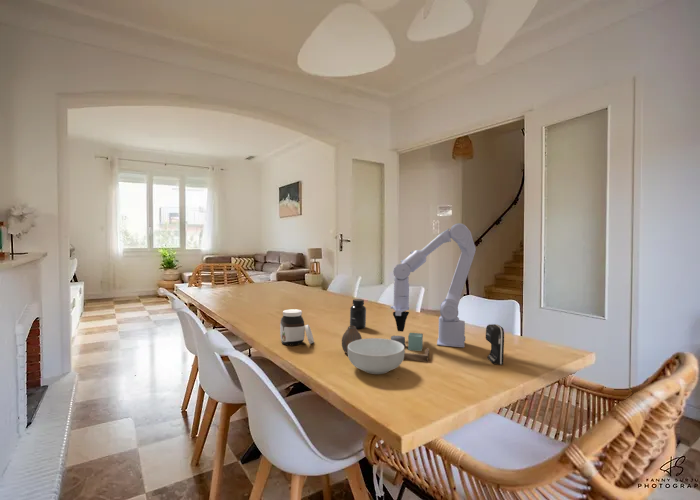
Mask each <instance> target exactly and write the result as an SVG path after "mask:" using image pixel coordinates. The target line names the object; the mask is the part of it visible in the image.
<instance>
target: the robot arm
mask: <svg viewBox="0 0 700 500" xmlns="http://www.w3.org/2000/svg"><path fill="white" fill-rule="evenodd" d="M452 240H453V241H454V242H455V243H456V244H457V246H458V248H459V249H460V251H461V252H460V255H459V258H458V261H457V264H456V266H455V267H456V268H455V270H454V274H453V276H452V279H451V283H450V286H449V289H448V291H447V294H446V296H445V299H444V300H443V301H442V302H441V303H440V305H439V306H440V307H439V309H440V310H439V314H440V316H439V317H438V338H437V340H436V345H437V346H444V347H453V348H454V347H455V348H465V342H466V336H465V335H466V333H465V332H466V331H465V330H466V327H465V326H466V325H465V324H466V323H465V322H466V321H465V320H461V319H460V317H458V316H459V304H460V299H461V297H462V293H463V289H464V287H465V284H466V281H467V279H468V275H469V273H470V269H471V266H472V264H473V261H474V256H475V254H476V250H477V248H476V244H475V243H474V239H473V235H472V232H471V230H470V229H469V227H467V226H466V224H464V223H462V222H461V223H455V224H453V225H451V227H450V228H447V229H446V230H444V231H442V232H440V233H439V234H438V235H437V236H436V237H435V238H434V239H432V240H431V241H430V242H429V243H428V244H426V245H425V246H424V247H423V248H422V249H415V250H412V251H411V252H410V254H409V255H408V256H406V257H405V258H404V259H401V260H400V263H398V264H396V265H395V267H394V268H393V276H394V278H393V280H394V281H393V282H394V283H393V305H390V309H393V310H394V311H393V312H392V316H393V317H394V319H395V320H394V321H395V324H396V325H395V326H396V329H397V332H400V333H402V332H404V331H405V326H406V321H407V319H408V315H409V314H410V311H409V310H410V282H409V281H410V280H409V276H410V275H411V273H414V272H415V271H417V270H418V269H419V268H420V267H421V266H423V265H424V264H425V263H426V262H427V257H428V256H429V255H430V254H432V253H433V252H434V251H436V249H439V247H440V246H441V245H443V244H445V243H451V242H452Z"/></svg>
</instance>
